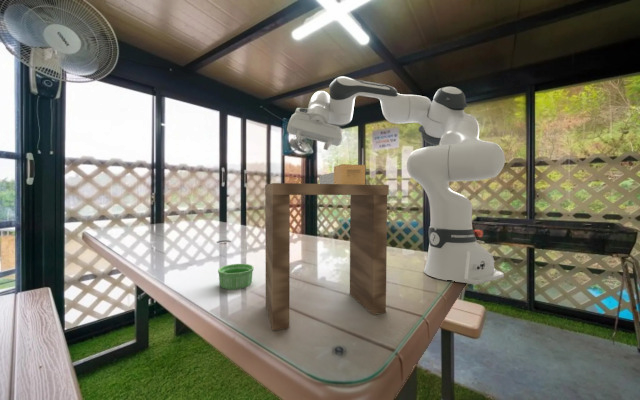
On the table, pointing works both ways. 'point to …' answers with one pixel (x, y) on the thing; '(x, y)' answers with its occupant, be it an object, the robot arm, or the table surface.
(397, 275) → the table surface
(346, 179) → the recessed wooden block
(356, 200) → the shelf
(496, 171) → the robot arm
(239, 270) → the ramekin
